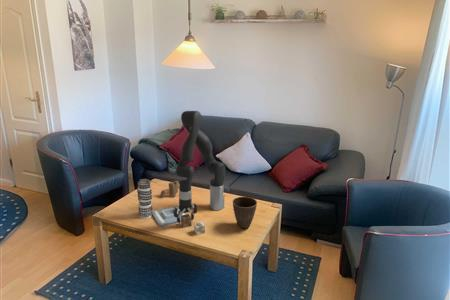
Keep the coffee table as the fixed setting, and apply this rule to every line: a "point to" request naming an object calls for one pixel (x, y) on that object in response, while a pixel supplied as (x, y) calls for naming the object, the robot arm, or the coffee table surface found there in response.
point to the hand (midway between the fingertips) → (185, 221)
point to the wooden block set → (171, 189)
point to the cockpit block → (199, 228)
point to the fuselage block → (186, 220)
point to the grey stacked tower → (144, 198)
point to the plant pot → (244, 210)
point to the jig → (166, 216)
